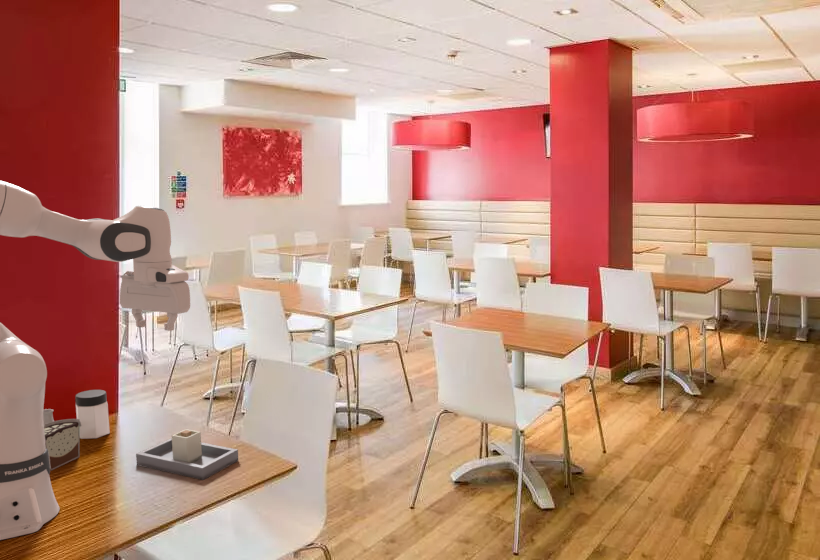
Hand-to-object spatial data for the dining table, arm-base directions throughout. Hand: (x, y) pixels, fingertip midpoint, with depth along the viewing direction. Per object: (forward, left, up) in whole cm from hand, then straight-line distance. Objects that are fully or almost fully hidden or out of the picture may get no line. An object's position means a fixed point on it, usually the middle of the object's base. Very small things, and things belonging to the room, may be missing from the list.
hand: (155, 328), depth 171 cm
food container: (-19, +22, -36) cm, 47 cm away
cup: (+6, -1, -35) cm, 35 cm away
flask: (-17, +36, -36) cm, 54 cm away
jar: (-5, +37, -36) cm, 52 cm away
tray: (+6, -2, -36) cm, 36 cm away
